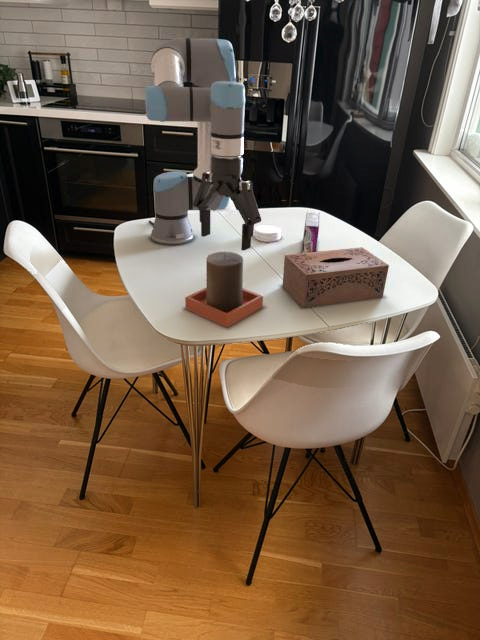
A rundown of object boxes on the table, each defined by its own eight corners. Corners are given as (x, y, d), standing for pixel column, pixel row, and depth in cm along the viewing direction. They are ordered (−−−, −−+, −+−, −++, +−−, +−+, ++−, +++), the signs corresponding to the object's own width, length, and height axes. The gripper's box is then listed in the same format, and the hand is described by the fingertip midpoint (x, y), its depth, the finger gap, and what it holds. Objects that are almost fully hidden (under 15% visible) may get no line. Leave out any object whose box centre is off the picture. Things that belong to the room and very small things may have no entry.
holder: (185, 308, 132) (185, 297, 130) (221, 290, 142) (222, 280, 140) (227, 327, 123) (227, 315, 122) (262, 307, 134) (263, 296, 132)
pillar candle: (235, 316, 127) (236, 263, 119) (200, 309, 129) (200, 257, 122) (246, 300, 135) (248, 249, 127) (214, 294, 137) (214, 244, 130)
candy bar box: (300, 256, 167) (303, 240, 181) (315, 257, 166) (316, 241, 181) (304, 224, 161) (306, 211, 176) (319, 226, 161) (320, 212, 175)
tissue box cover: (302, 307, 134) (306, 274, 129) (282, 286, 146) (284, 255, 141) (382, 296, 142) (389, 265, 137) (357, 277, 153) (362, 247, 148)
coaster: (261, 243, 176) (261, 234, 175) (249, 234, 184) (250, 225, 183) (285, 240, 180) (285, 231, 178) (273, 231, 188) (273, 223, 186)
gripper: (177, 149, 117) (180, 233, 128) (259, 167, 103) (254, 259, 114) (199, 145, 122) (200, 226, 133) (279, 162, 108) (273, 250, 119)
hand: (225, 241), depth 123 cm, fingers open, 13 cm apart
